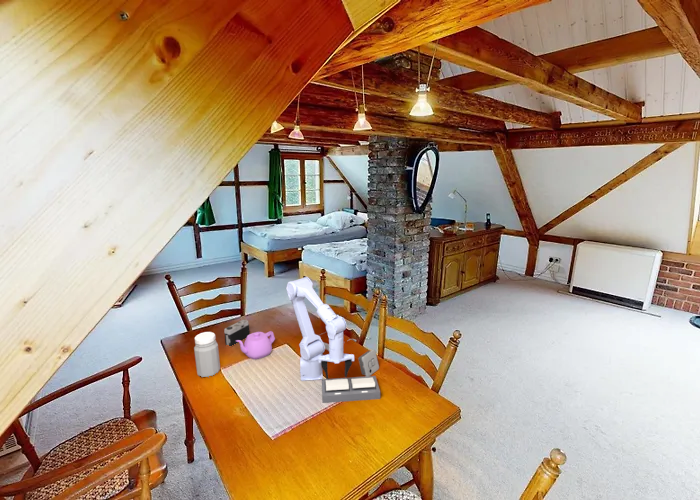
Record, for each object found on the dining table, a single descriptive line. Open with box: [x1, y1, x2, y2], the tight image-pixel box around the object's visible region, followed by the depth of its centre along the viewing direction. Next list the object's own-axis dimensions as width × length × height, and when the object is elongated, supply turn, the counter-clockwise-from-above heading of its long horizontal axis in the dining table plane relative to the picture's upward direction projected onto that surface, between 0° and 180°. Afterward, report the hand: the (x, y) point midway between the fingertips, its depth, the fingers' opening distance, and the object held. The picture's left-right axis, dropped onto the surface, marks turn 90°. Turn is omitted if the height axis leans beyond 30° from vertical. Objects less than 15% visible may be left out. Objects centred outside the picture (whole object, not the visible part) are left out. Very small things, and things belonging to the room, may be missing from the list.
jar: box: [193, 331, 221, 378], centre depth 150 cm, size 10×10×18 cm
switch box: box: [321, 375, 381, 404], centre depth 139 cm, size 23×11×3 cm, turn 96°
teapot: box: [236, 330, 276, 360], centre depth 167 cm, size 13×20×11 cm
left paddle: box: [326, 379, 349, 391], centre depth 138 cm, size 9×6×2 cm, turn 96°
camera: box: [224, 319, 251, 347], centre depth 180 cm, size 14×9×10 cm, turn 144°
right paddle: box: [351, 378, 375, 388], centre depth 139 cm, size 9×6×2 cm, turn 96°
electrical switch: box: [357, 349, 380, 377], centre depth 152 cm, size 9×5×9 cm, turn 141°
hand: (336, 376), depth 139 cm, fingers open, 7 cm apart
